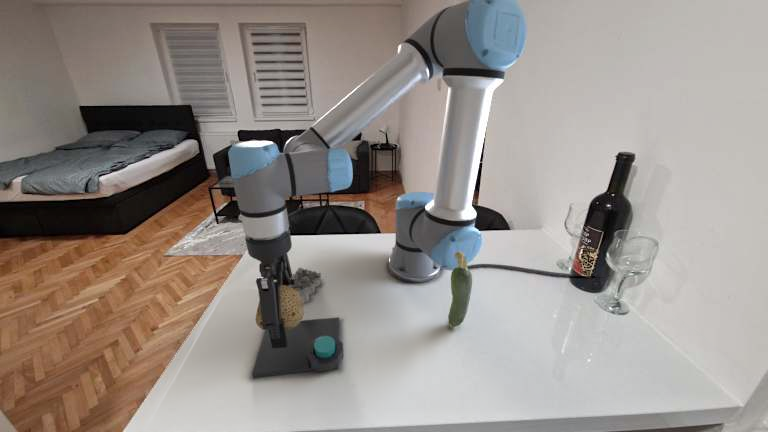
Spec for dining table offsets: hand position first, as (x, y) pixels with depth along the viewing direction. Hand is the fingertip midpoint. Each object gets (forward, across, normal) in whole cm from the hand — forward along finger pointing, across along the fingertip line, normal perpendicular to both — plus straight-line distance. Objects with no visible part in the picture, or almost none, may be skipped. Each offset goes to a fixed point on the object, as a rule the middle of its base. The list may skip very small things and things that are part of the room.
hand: (284, 327), depth 63 cm
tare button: (+2, +6, +8) cm, 10 cm away
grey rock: (+4, -18, +1) cm, 18 cm away
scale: (+4, +2, +3) cm, 5 cm away
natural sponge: (0, 0, 0) cm, 0 cm away
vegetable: (+4, 0, +37) cm, 37 cm away
